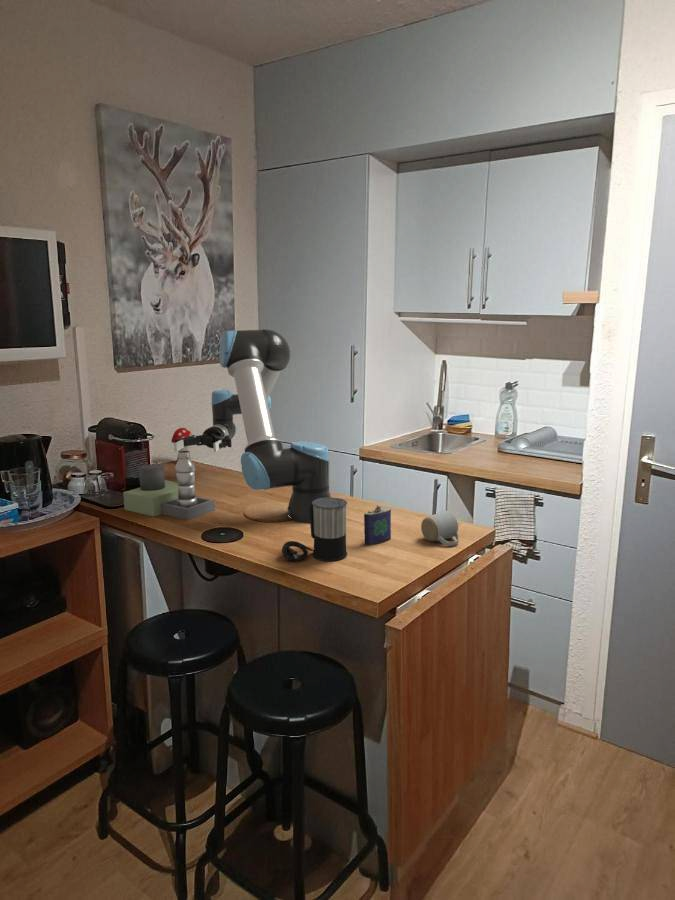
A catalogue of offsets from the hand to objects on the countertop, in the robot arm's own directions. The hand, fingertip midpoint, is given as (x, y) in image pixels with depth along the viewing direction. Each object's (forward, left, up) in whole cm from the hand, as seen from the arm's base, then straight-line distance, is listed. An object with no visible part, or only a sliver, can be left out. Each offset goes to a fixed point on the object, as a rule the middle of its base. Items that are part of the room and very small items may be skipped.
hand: (194, 447), depth 223 cm
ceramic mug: (-86, -9, -20) cm, 88 cm away
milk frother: (-62, +20, -20) cm, 68 cm away
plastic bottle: (-5, +9, -19) cm, 22 cm away
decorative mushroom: (+48, -41, -19) cm, 66 cm away
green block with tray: (+2, +9, -19) cm, 21 cm away
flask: (-71, +1, -19) cm, 73 cm away
